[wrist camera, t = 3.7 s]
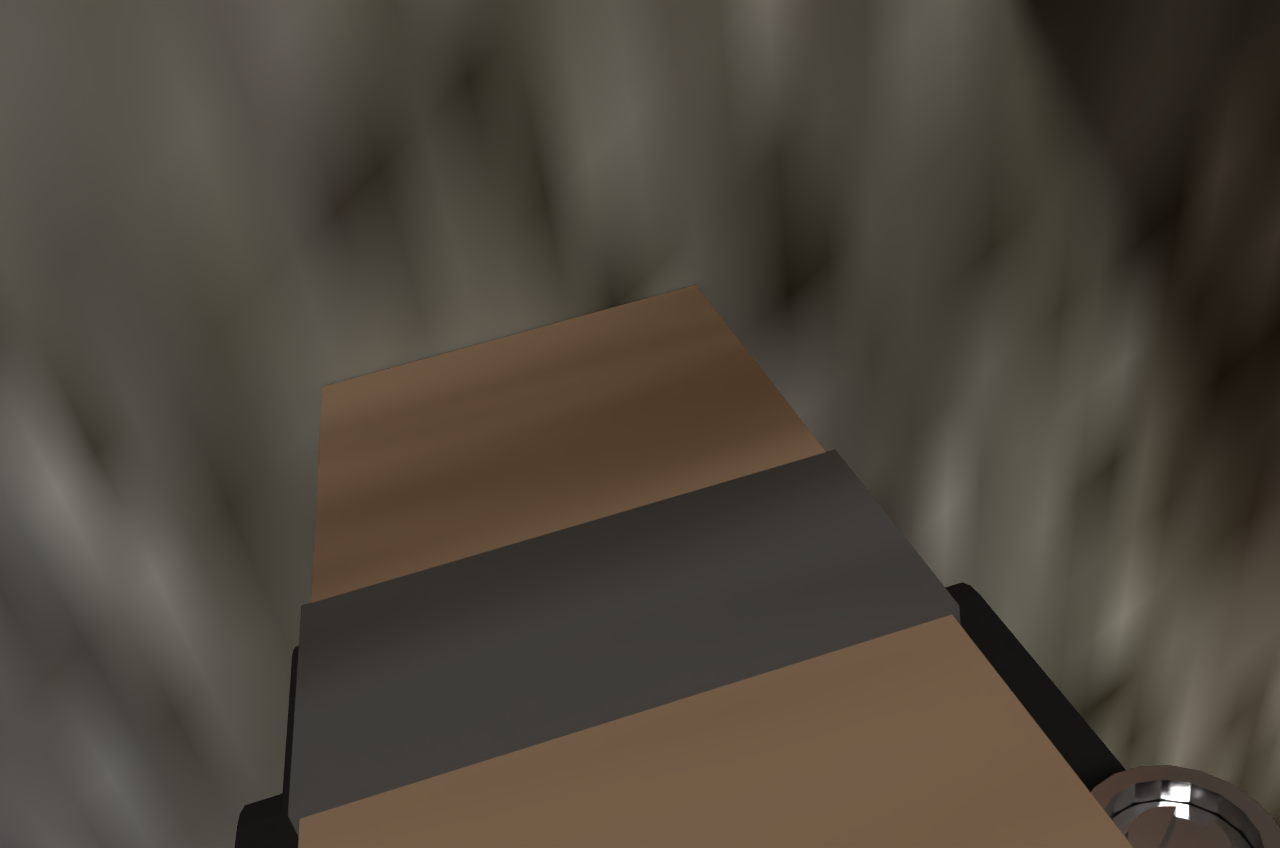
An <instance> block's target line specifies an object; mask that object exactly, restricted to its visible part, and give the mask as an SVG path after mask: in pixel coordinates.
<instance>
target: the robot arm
mask: <svg viewBox="0 0 1280 848" xmlns="http://www.w3.org/2000/svg"><path fill="white" fill-rule="evenodd" d="M946 590H947V591H948V592H949V593H950V595H951V596H952V597H953V598H954V600H955V601H956V602H957V603H958V605H959V608H960V625H961V627H962V628H963V629H964V630H965V632H966V633H967V634H968V636H969V637H970V638H971V639H972V641H973V642H974V643H975V645H976V646H977V647H978V648H979V650H980V651H981V652H982V654H983V655H984V656H985V657H986V659H987V660H988V661H989V663H990V664H991V665H992V666H993V668H994V669H995V670H996V672H997V673H998V674H999V675H1000V677H1001V678H1002V679H1003V681H1004V682H1005V683H1006V684H1007V686H1008V687H1009V688H1010V690H1011V691H1012V692H1013V693H1014V695H1015V696H1016V697H1017V699H1018V700H1019V701H1020V702H1021V704H1022V705H1023V706H1024V708H1025V709H1026V710H1027V711H1028V713H1029V714H1030V715H1031V717H1032V718H1033V719H1034V720H1035V722H1036V723H1037V724H1038V726H1039V727H1040V728H1041V729H1042V731H1043V732H1044V733H1045V735H1046V736H1047V737H1048V738H1049V740H1050V741H1051V742H1052V744H1053V745H1054V746H1055V747H1056V749H1057V750H1058V751H1059V753H1060V754H1061V755H1062V757H1063V758H1064V759H1065V760H1066V762H1067V763H1068V764H1069V766H1070V767H1071V768H1072V769H1073V771H1074V772H1075V773H1076V775H1077V776H1078V777H1079V778H1080V780H1081V781H1082V782H1083V784H1084V785H1085V786H1086V787H1087V789H1088V790H1089V791H1090V793H1091V794H1092V795H1093V796H1094V798H1095V799H1096V800H1097V802H1098V803H1099V804H1100V805H1101V807H1102V808H1103V809H1104V811H1105V812H1106V813H1107V814H1108V816H1109V817H1110V818H1111V820H1112V821H1113V822H1114V823H1115V825H1116V826H1117V827H1118V829H1119V830H1120V831H1121V832H1122V834H1123V835H1124V836H1125V838H1126V839H1127V840H1128V841H1129V843H1130V844H1131V845H1132V847H1133V848H1280V828H1279V826H1278V825H1277V823H1276V822H1275V821H1274V820H1273V819H1272V818H1271V817H1270V816H1269V814H1268V813H1267V812H1266V811H1265V810H1264V809H1263V808H1262V806H1261V805H1260V804H1259V803H1258V802H1257V801H1256V800H1254V799H1253V798H1251V797H1250V796H1248V795H1247V794H1246V793H1244V792H1243V791H1241V790H1240V789H1238V788H1237V787H1235V786H1234V785H1233V784H1231V783H1229V782H1226V781H1224V780H1221V779H1219V778H1217V777H1214V776H1212V775H1209V774H1207V773H1204V772H1202V771H1198V770H1193V769H1187V768H1182V767H1177V766H1171V765H1162V766H1139V767H1136V768H1132V769H1129V770H1125V768H1124V767H1123V766H1122V765H1121V764H1120V762H1119V761H1118V760H1117V759H1116V758H1115V756H1114V755H1113V754H1112V753H1111V752H1110V750H1109V749H1108V748H1107V747H1106V746H1105V744H1104V743H1103V742H1102V741H1101V740H1100V738H1099V737H1098V736H1097V735H1096V734H1095V732H1094V731H1093V730H1092V729H1091V728H1090V726H1089V725H1088V724H1087V723H1086V722H1085V720H1084V719H1083V718H1082V717H1081V716H1080V714H1079V713H1078V712H1077V711H1076V710H1075V708H1074V707H1073V706H1072V705H1071V704H1070V702H1069V701H1068V700H1067V699H1066V698H1065V696H1064V695H1063V694H1062V693H1061V692H1060V690H1059V689H1058V688H1057V687H1056V686H1055V684H1054V683H1053V682H1052V681H1051V680H1050V678H1049V677H1048V676H1047V675H1046V673H1045V672H1044V671H1043V670H1042V669H1041V667H1040V666H1039V665H1038V664H1037V663H1036V661H1035V660H1034V659H1033V658H1032V657H1031V655H1030V654H1029V653H1028V652H1027V651H1026V649H1025V648H1024V647H1023V646H1022V645H1021V643H1020V642H1019V641H1018V640H1017V639H1016V637H1015V636H1014V635H1013V634H1012V633H1011V631H1010V630H1009V629H1008V628H1007V627H1006V625H1005V624H1004V623H1003V622H1002V621H1001V619H1000V618H999V617H998V616H997V615H996V613H995V612H994V611H993V610H992V609H991V607H990V606H989V605H988V604H987V603H986V601H985V600H984V599H983V598H982V597H981V595H980V594H979V593H978V592H976V591H975V590H974V589H973V588H972V587H971V586H970V585H967V584H965V583H959V584H956V585H952V586H949V587H946ZM298 652H299V646H296V647H295V649H294V650H293V655H292V667H291V681H290V695H289V710H288V724H287V738H286V753H285V767H284V781H283V794H280V795H277V796H274V797H270V798H267V799H264V800H261V801H258V802H254V803H251V804H248V805H245V807H244V808H243V810H242V811H241V813H240V816H239V821H238V825H237V833H236V841H235V848H298V841H299V836H298V834H297V833H296V831H295V829H294V827H293V825H292V823H291V821H290V819H289V817H288V807H289V791H290V776H291V760H292V745H293V729H294V714H295V698H296V683H297V667H298Z"/></svg>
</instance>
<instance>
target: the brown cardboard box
mask: <svg viewBox="0 0 1280 848" xmlns="http://www.w3.org/2000/svg"><path fill="white" fill-rule="evenodd" d="M288 817H289V819H290V821H291V823H292V825H293V827H294V829H295V831H296V833H297V834H298V836H299V841H298V848H1133V847H1132V845H1131V844H1130V843H1129V841H1128V840H1127V839H1126V838H1125V836H1124V835H1123V834H1122V832H1121V831H1120V830H1119V829H1118V827H1117V826H1116V825H1115V823H1114V822H1113V821H1112V820H1111V818H1110V817H1109V816H1108V814H1107V813H1106V812H1105V811H1104V809H1103V808H1102V807H1101V805H1100V804H1099V803H1098V802H1097V800H1096V799H1095V798H1094V796H1093V795H1092V794H1091V793H1090V791H1089V790H1088V789H1087V787H1086V786H1085V785H1084V784H1083V782H1082V781H1081V780H1080V778H1079V777H1078V776H1077V775H1076V773H1075V772H1074V771H1073V769H1072V768H1071V767H1070V766H1069V764H1068V763H1067V762H1066V760H1065V759H1064V758H1063V757H1062V755H1061V754H1060V753H1059V751H1058V750H1057V749H1056V747H1055V746H1054V745H1053V744H1052V742H1051V741H1050V740H1049V738H1048V737H1047V736H1046V735H1045V733H1044V732H1043V731H1042V729H1041V728H1040V727H1039V726H1038V724H1037V723H1036V722H1035V720H1034V719H1033V718H1032V717H1031V715H1030V714H1029V713H1028V711H1027V710H1026V709H1025V708H1024V706H1023V705H1022V704H1021V702H1020V701H1019V700H1018V699H1017V697H1016V696H1015V695H1014V693H1013V692H1012V691H1011V690H1010V688H1009V687H1008V686H1007V684H1006V683H1005V682H1004V681H1003V679H1002V678H1001V677H1000V675H999V674H998V673H997V672H996V670H995V669H994V668H993V666H992V665H991V664H990V663H989V661H988V660H987V659H986V657H985V656H984V655H983V654H982V652H981V651H980V650H979V648H978V647H977V646H976V645H975V643H974V642H973V641H972V639H971V638H970V637H969V636H968V634H967V633H966V632H965V630H964V629H963V628H962V627H961V625H960V608H959V605H958V603H957V602H956V601H955V600H954V598H953V597H952V596H951V595H950V593H949V592H948V591H947V590H946V588H945V587H944V586H943V584H942V583H941V582H940V581H939V579H938V578H937V577H936V576H935V574H934V573H933V572H932V571H931V569H930V568H929V567H928V566H927V564H926V563H925V562H924V561H923V559H922V558H921V557H920V556H919V554H918V553H917V552H916V551H915V549H914V548H913V547H912V546H911V544H910V543H909V542H908V540H907V539H906V538H905V537H904V535H903V534H902V533H901V532H900V530H899V529H898V528H897V527H896V525H895V524H894V523H893V522H892V520H891V519H890V518H889V517H888V515H887V514H886V513H885V512H884V510H883V509H882V508H881V507H880V505H879V504H878V503H877V502H876V500H875V499H874V498H873V496H872V495H871V494H870V493H869V491H868V490H867V489H866V488H865V486H864V485H863V484H862V483H861V481H860V480H859V479H858V478H857V476H856V475H855V474H854V473H853V471H852V470H851V469H850V468H849V466H848V465H847V464H846V463H845V461H844V460H843V459H842V458H841V456H840V455H839V454H838V452H837V451H836V450H832V451H828V452H825V450H824V449H823V448H822V446H821V445H820V444H819V442H818V441H817V440H816V439H815V437H814V436H813V435H812V433H811V432H810V431H809V430H808V428H807V427H806V426H805V424H804V423H803V422H802V421H801V419H800V418H799V417H798V415H797V414H796V413H795V412H794V410H793V409H792V408H791V406H790V405H789V404H788V403H787V401H786V400H785V399H784V397H783V396H782V395H781V394H780V392H779V391H778V390H777V388H776V387H775V386H774V385H773V383H772V382H771V381H770V379H769V378H768V377H767V376H766V374H765V373H764V372H763V370H762V369H761V368H760V367H759V365H758V364H757V363H756V361H755V360H754V359H753V358H752V356H751V355H750V354H749V352H748V351H747V350H746V349H745V347H744V346H743V345H742V343H741V342H740V341H739V340H738V338H737V337H736V336H735V334H734V333H733V332H732V331H731V329H730V328H729V327H728V325H727V324H726V323H725V322H724V320H723V319H722V318H721V316H720V315H719V314H718V313H717V311H716V310H715V309H714V307H713V306H712V305H711V304H710V302H709V301H708V300H707V298H706V297H705V296H704V294H703V293H702V292H701V291H700V289H699V288H698V287H697V285H694V286H690V287H686V288H683V289H679V290H675V291H672V292H668V293H664V294H661V295H657V296H653V297H650V298H646V299H642V300H639V301H635V302H631V303H628V304H624V305H620V306H617V307H613V308H609V309H606V310H602V311H598V312H595V313H591V314H587V315H584V316H580V317H576V318H573V319H569V320H565V321H562V322H558V323H554V324H551V325H547V326H543V327H540V328H536V329H532V330H529V331H525V332H521V333H518V334H514V335H510V336H507V337H503V338H499V339H495V340H492V341H488V342H484V343H481V344H477V345H473V346H470V347H466V348H462V349H459V350H455V351H451V352H448V353H444V354H440V355H437V356H433V357H429V358H426V359H422V360H418V361H415V362H411V363H407V364H404V365H400V366H396V367H393V368H389V369H385V370H382V371H378V372H374V373H371V374H367V375H363V376H360V377H356V378H352V379H349V380H345V381H341V382H338V383H334V384H330V385H327V386H323V387H322V401H321V420H320V439H319V459H318V478H317V497H316V516H315V535H314V554H313V573H312V592H311V603H309V604H306V605H303V606H301V621H300V636H299V652H298V667H297V683H296V698H295V714H294V729H293V745H292V760H291V776H290V791H289V807H288Z"/></svg>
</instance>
